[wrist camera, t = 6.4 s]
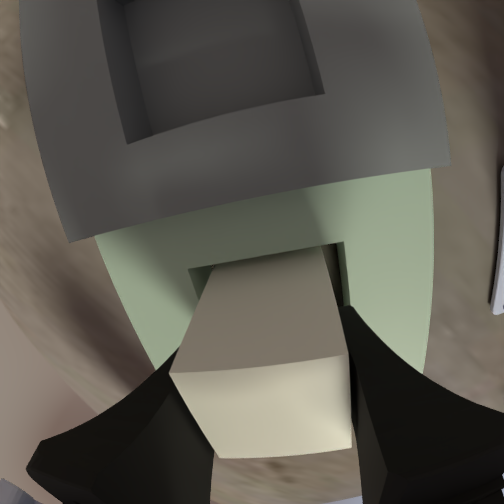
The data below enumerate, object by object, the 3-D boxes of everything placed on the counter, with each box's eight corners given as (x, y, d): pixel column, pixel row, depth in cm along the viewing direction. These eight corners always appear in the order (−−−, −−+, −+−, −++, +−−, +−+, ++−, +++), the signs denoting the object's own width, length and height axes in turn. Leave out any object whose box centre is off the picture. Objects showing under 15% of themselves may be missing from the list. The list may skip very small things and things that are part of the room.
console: (75, 11, 9) (19, -7, 6) (339, -65, 7) (356, -116, 3) (190, 377, 17) (172, 432, 13) (407, 347, 15) (430, 403, 11)
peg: (320, 243, 12) (348, 353, 6) (332, 328, 13) (351, 447, 8) (216, 261, 12) (168, 373, 7) (241, 341, 14) (219, 458, 8)
